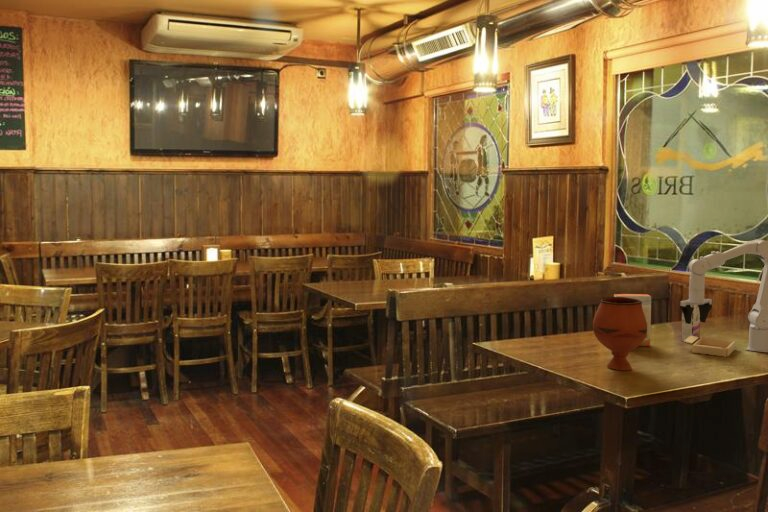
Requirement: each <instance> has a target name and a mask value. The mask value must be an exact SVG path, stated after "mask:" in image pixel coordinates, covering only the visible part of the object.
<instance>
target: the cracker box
mask: <svg viewBox="0 0 768 512" xmlns="http://www.w3.org/2000/svg"><path fill="white" fill-rule="evenodd" d="M613 297H626V298H633V299H638V300H641V301H642V309H643V312H644V315H645V318H646V322H647V334H646V337H645V339H644V340H643V342H642V343H641V344H640V345H639V346H638V347H650V346H651V327H652V326H651V325H652V324H651V323H652V296H651V295H649V294H647V293H646V294H643V293H640V294H638V293H637V294H636V293H617V294H616V293H614V294H613Z"/></svg>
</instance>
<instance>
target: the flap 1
mask: <svg viewBox="0 0 768 512" xmlns="http://www.w3.org/2000/svg"><path fill="white" fill-rule="evenodd" d="M699 339H700V338H699V337H695V336H689V337H688V338H687V339H685V340H684V341H682V342H683V343H688V344H691V345H693V344H694V343H695V342H697V341H698V340H699Z"/></svg>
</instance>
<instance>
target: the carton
mask: <svg viewBox="0 0 768 512" xmlns="http://www.w3.org/2000/svg"><path fill="white" fill-rule="evenodd" d="M694 345H704V346H713V347H721V348H722V349H716V348H707V347H699V346H694ZM735 350H736V341H734V340H730V339H723V338H714V337H712V338H711V337H702V338H698V339H697V340H696V341H695V342H693V343H692V344H691V353H692V354H698V353H700V354H699V355H706V354H709V355H708V356H714V355H716V357H722V356H723V357H724V358H727V357H729V356H730V355H731V354H732V353H733V352H734V351H735Z"/></svg>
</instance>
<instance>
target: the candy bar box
mask: <svg viewBox="0 0 768 512" xmlns="http://www.w3.org/2000/svg"><path fill="white" fill-rule="evenodd" d="M694 304H696V303H694ZM690 306H691V307H693V308H694V310H693V313H692V318H691V324H687V323H686V322H685V318H684V314H683V312H682V311H681V331H680V332H681V334H680V335H681V336H680V337H681V339H680V341H681V342H683V341H684V340H685V339H687V338H688V337H689V336H695V337H699V338H698V339H700V337H701V336H700V334H701V322H700V312H699V307H698V305H690Z"/></svg>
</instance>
